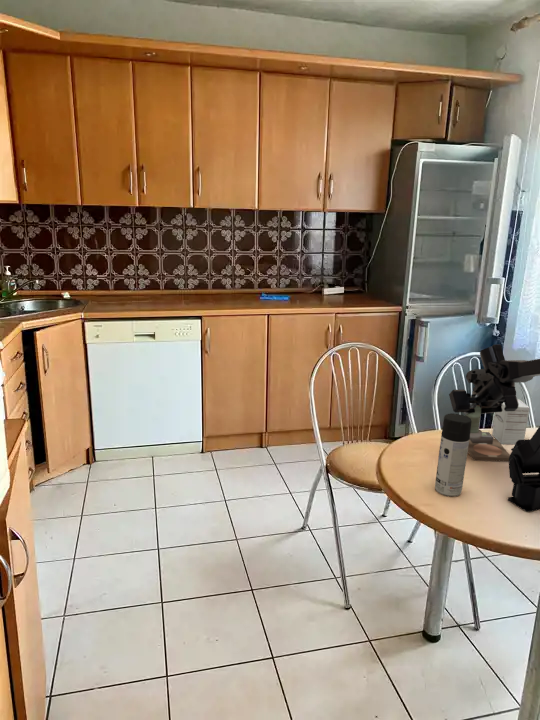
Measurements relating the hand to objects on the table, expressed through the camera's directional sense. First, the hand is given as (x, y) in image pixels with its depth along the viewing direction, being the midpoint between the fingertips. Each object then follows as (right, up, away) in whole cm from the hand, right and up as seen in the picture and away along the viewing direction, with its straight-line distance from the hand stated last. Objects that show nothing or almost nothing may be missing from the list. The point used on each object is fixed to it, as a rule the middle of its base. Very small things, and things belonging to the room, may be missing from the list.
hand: (471, 412), depth 163 cm
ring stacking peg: (0, -7, 0) cm, 7 cm away
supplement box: (+16, -10, +11) cm, 22 cm away
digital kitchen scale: (+5, -12, +3) cm, 13 cm away
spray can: (-14, -18, -21) cm, 31 cm away
